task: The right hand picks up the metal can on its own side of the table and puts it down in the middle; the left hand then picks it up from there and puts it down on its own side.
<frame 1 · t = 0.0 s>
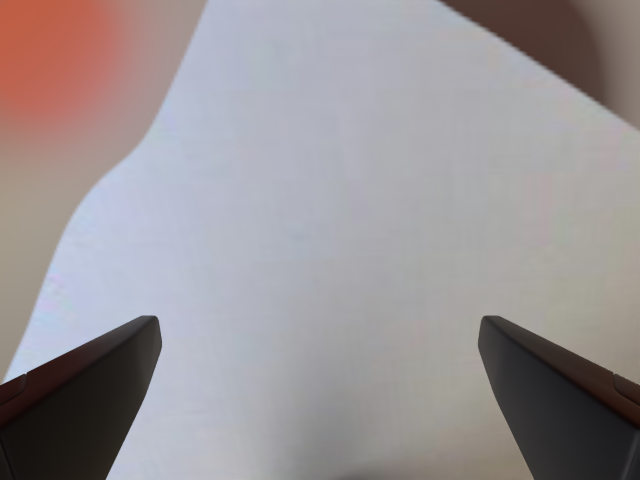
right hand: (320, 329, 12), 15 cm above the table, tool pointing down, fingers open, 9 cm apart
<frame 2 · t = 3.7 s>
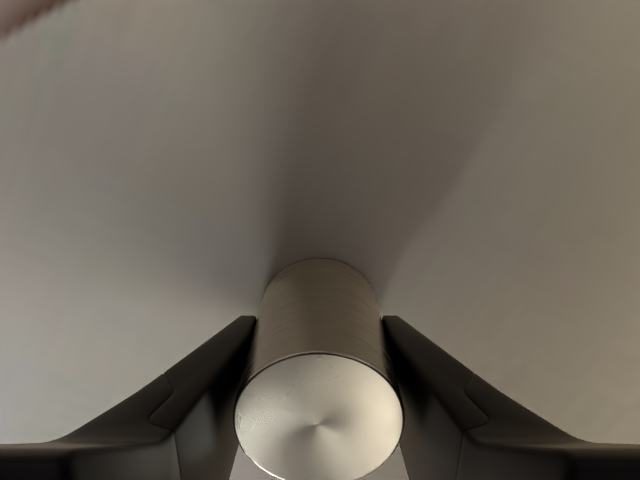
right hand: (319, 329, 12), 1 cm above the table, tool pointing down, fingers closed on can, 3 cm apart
can: (319, 310, 12), on the table, touching right hand
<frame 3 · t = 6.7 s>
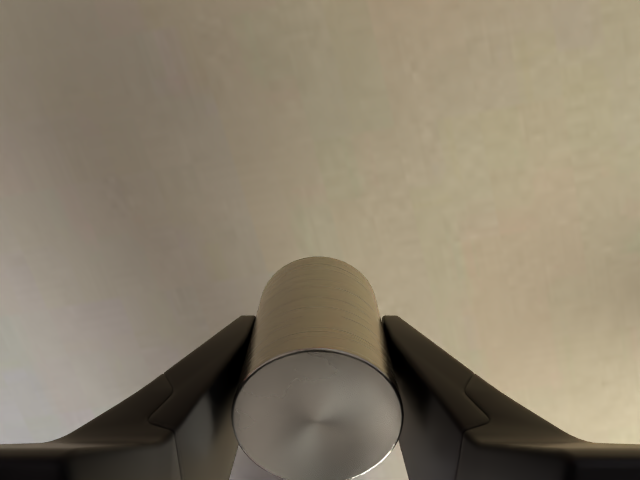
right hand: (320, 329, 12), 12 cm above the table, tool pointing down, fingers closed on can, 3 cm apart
can: (318, 309, 12), point 11 cm above the table, touching right hand
when the right hand's fingers open (2 cm above the table, at t = 9.6 s): can drops 1 cm, on the table.
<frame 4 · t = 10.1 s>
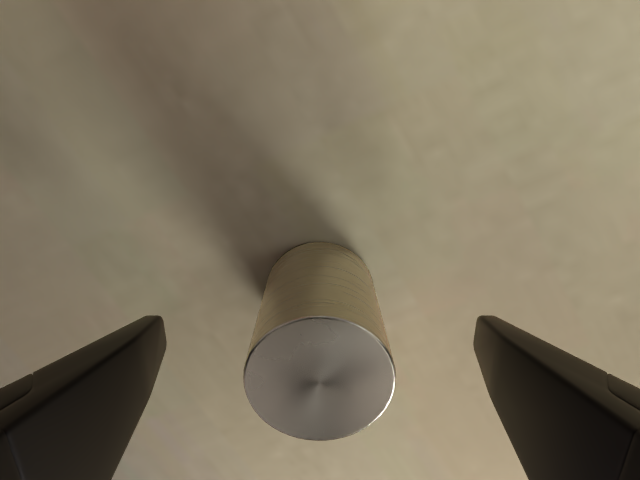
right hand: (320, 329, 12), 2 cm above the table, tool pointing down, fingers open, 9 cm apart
can: (319, 290, 14), on the table
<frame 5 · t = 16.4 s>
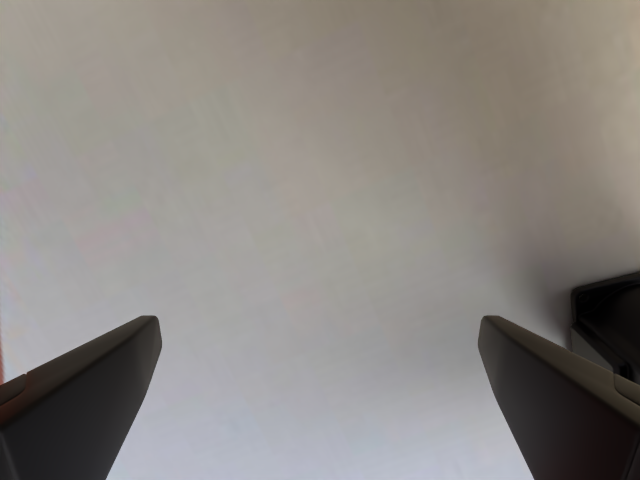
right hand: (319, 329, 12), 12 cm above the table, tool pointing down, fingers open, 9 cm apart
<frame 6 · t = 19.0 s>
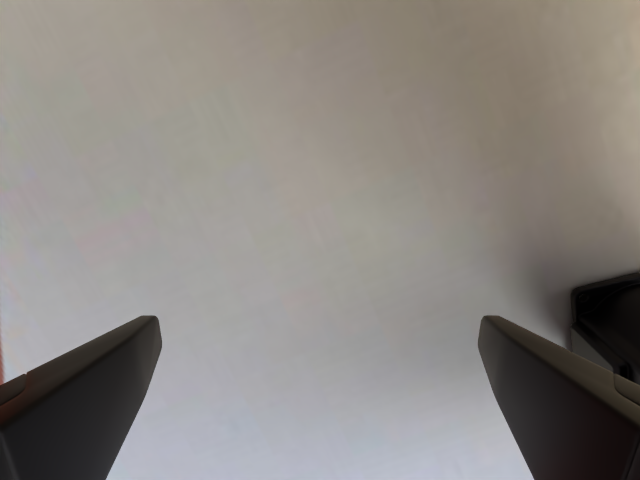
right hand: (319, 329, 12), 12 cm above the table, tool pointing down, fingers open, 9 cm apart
when the left hand's fingers open (3 cm above the table, at t = 21.5 s): can drops 1 cm, on the table.
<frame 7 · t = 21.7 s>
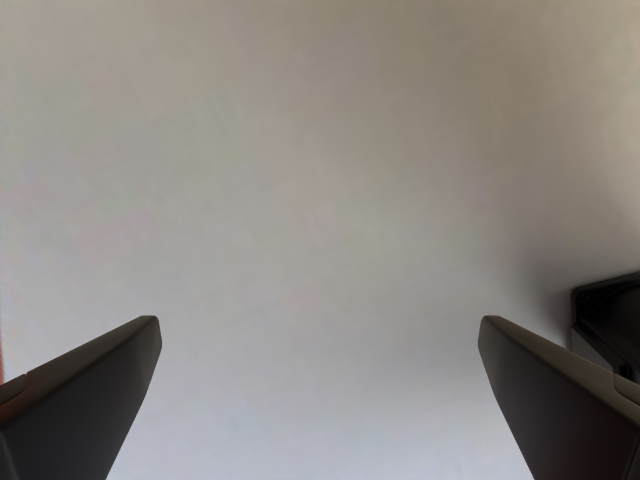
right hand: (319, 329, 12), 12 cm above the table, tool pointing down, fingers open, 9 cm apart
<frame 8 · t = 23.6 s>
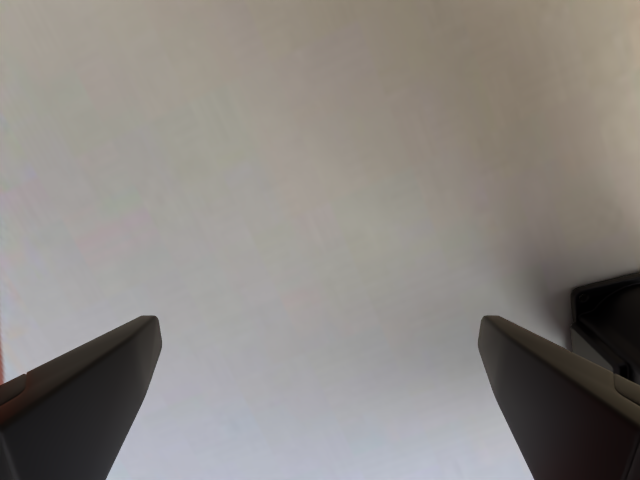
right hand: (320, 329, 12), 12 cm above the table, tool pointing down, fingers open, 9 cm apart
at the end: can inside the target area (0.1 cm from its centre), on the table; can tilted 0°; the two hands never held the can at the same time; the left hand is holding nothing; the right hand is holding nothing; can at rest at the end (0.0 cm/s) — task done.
